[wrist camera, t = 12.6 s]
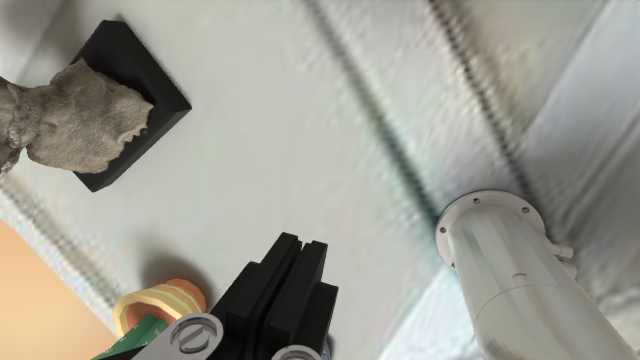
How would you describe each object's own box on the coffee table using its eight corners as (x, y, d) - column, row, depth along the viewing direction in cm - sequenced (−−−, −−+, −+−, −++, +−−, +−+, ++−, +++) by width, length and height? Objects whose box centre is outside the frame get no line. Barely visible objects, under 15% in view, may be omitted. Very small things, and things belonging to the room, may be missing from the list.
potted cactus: (230, 284, 53) (108, 453, 30) (214, 342, 59) (104, 518, 37) (150, 249, 54) (-24, 387, 32) (144, 310, 61) (-6, 460, 38)
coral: (100, 194, 52) (-75, 275, 33) (10, 91, 49) (-246, 112, 29) (196, 113, 43) (32, 158, 23) (94, -23, 39) (-201, -104, 20)
